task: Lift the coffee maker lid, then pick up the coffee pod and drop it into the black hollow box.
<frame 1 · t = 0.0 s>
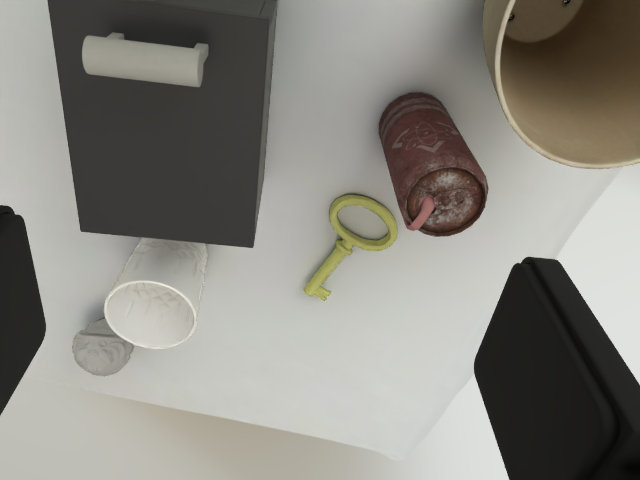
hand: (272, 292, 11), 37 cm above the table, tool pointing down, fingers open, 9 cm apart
key: (344, 240, 55), on the table
coffee maker lid: (157, 150, 34), point 13 cm above the table, hinge at 0.0°
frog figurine: (113, 322, 60), on the table
black hollow box: (194, 88, 45), on the table
white cup: (175, 248, 55), on the table
can: (411, 124, 48), on the table
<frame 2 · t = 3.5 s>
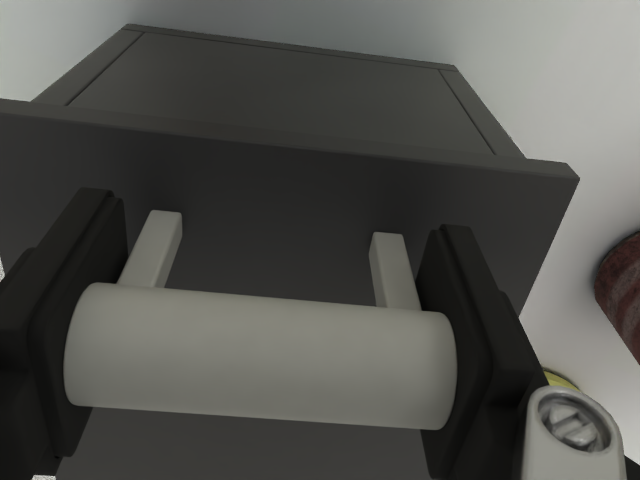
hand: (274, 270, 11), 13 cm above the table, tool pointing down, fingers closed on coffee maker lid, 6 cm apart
coffee maker lid: (254, 470, 14), point 13 cm above the table, hinge at 0.0°, touching gripper
black hollow box: (278, 216, 25), on the table
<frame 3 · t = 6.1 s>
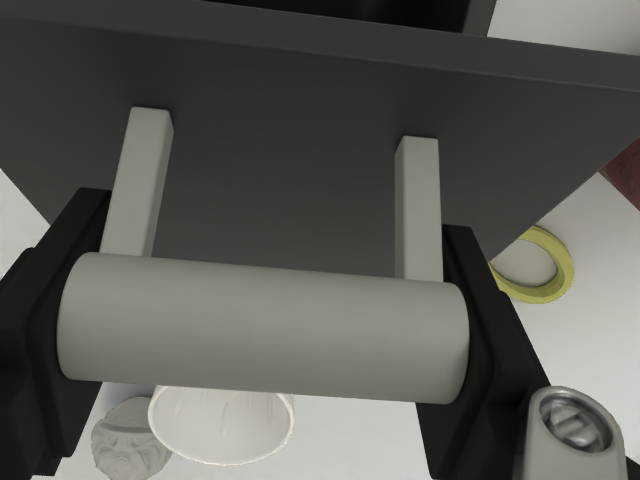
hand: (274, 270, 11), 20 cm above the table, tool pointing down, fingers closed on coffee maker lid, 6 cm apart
key: (487, 288, 37), on the table
coffee maker lid: (269, 313, 15), point 18 cm above the table, hinge at 34.6°, touching gripper
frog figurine: (147, 400, 43), on the table
black hollow box: (291, 59, 28), on the table
white cup: (240, 301, 38), on the table
can: (621, 115, 31), on the table
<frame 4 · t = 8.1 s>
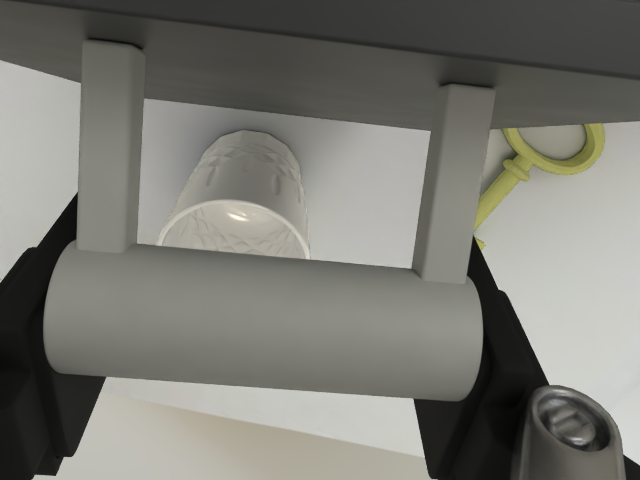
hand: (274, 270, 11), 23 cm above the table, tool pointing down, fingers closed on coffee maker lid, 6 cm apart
key: (511, 162, 36), on the table
coffee maker lid: (282, 177, 14), point 19 cm above the table, hinge at 66.6°, touching gripper
white cup: (251, 175, 36), on the table
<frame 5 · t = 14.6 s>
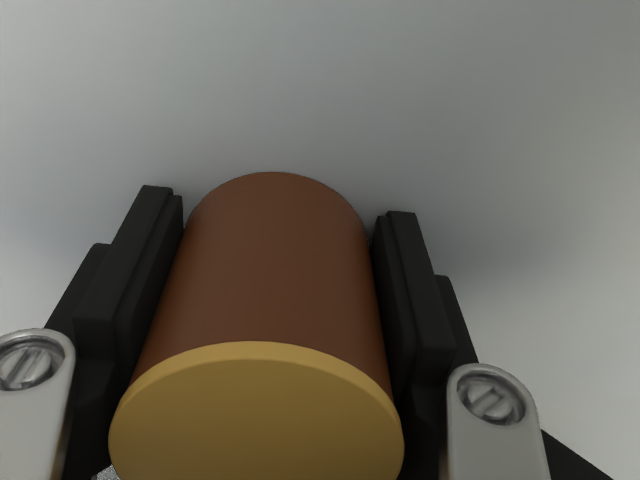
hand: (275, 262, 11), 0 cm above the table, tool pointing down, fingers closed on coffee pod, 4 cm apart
coffee pod: (276, 253, 12), on the table, touching gripper
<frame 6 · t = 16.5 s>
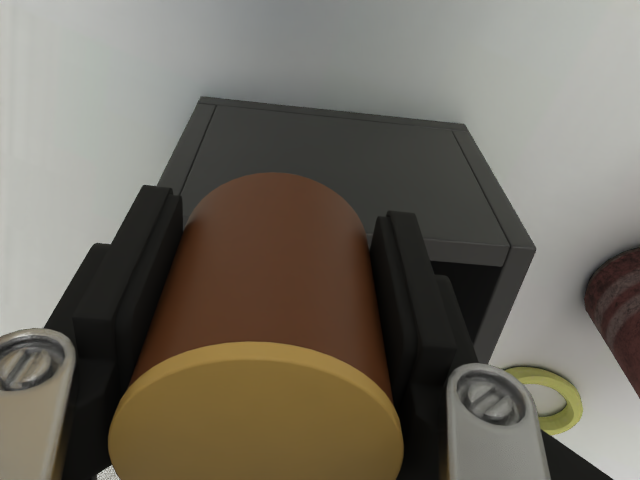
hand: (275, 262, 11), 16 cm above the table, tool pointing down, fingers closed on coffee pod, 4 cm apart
key: (500, 415, 39), on the table
black hollow box: (317, 243, 30), on the table
coffee pod: (276, 254, 12), point 15 cm above the table, touching gripper
can: (629, 283, 32), on the table
when the fingers open (11 cm above the table, at t = 18.9 s): coffee pod drops 10 cm, resting on black hollow box.
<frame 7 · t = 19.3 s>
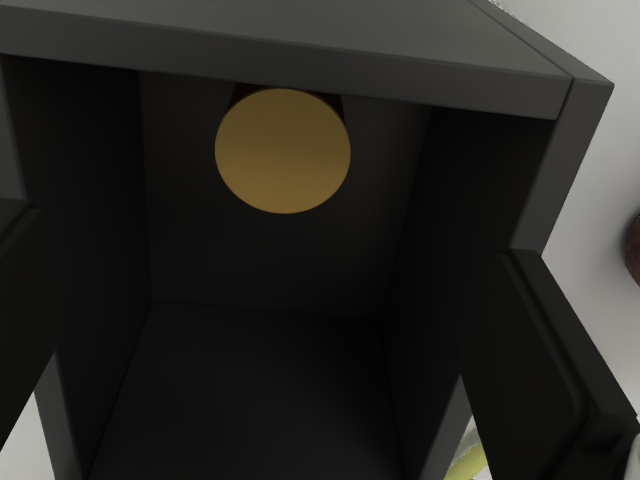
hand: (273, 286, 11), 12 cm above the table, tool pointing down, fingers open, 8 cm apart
key: (511, 407, 32), on the table
black hollow box: (281, 171, 23), on the table
coffee pod: (288, 99, 20), point 1 cm above the table, touching black hollow box
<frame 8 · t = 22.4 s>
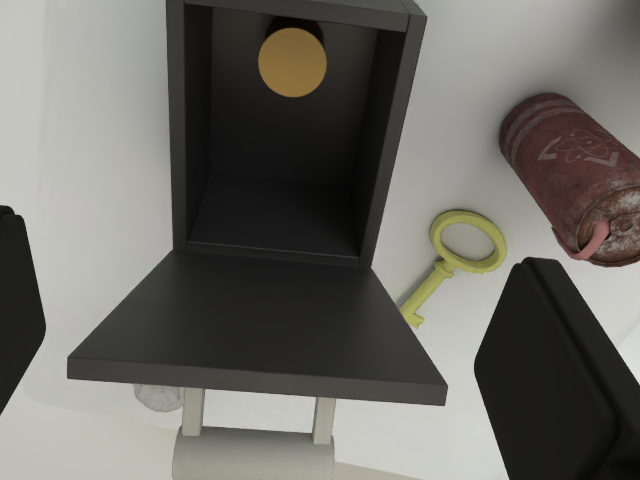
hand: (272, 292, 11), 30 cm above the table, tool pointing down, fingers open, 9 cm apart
key: (442, 261, 48), on the table
coffee maker lid: (264, 351, 27), point 19 cm above the table, hinge at 67.0°
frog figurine: (173, 350, 54), on the table
black hollow box: (289, 88, 39), on the table
coffee pod: (294, 42, 36), point 1 cm above the table, touching black hollow box
can: (535, 130, 41), on the table
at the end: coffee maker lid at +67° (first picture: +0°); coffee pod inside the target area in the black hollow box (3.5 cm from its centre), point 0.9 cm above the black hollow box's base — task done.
